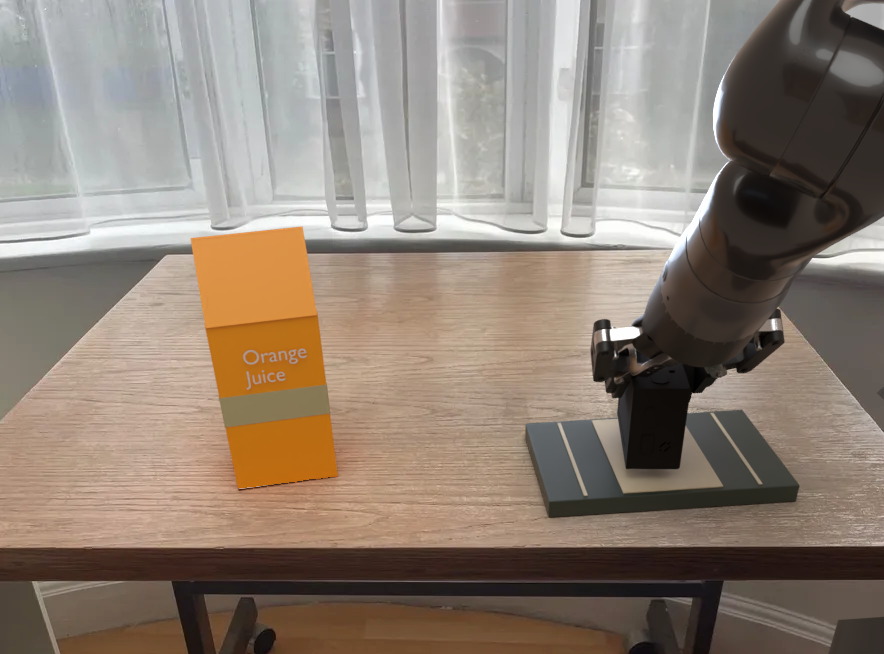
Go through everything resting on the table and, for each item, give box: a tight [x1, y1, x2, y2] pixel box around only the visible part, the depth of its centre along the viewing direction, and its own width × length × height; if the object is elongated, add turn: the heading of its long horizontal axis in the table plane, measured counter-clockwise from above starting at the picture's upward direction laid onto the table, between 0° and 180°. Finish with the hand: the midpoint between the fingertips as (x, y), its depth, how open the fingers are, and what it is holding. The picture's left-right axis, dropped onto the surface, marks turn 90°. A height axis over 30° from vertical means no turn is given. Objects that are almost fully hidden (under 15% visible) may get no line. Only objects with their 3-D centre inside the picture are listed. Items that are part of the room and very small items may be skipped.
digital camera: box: [616, 356, 694, 469], centre depth 74 cm, size 10×5×7 cm, turn 175°
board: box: [524, 409, 800, 518], centre depth 77 cm, size 20×14×2 cm
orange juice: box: [190, 225, 339, 489], centre depth 75 cm, size 8×9×20 cm
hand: (655, 384), depth 75 cm, fingers closed on digital camera, 6 cm apart
